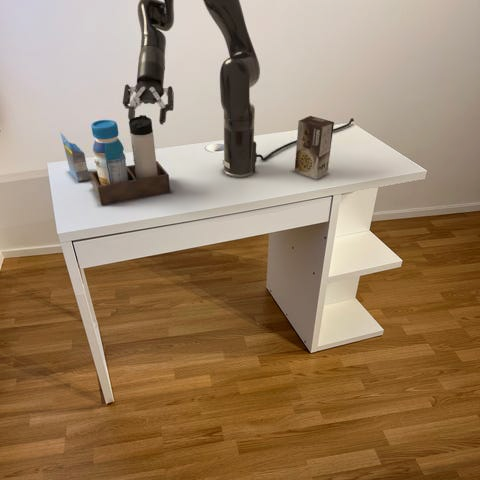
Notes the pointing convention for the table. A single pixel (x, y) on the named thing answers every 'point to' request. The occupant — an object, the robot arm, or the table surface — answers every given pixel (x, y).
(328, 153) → the coffee box
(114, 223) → the table surface
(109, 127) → the beverage bottle
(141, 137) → the travel mug
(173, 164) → the table surface
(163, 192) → the caddy
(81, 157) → the blue hanging retail box
